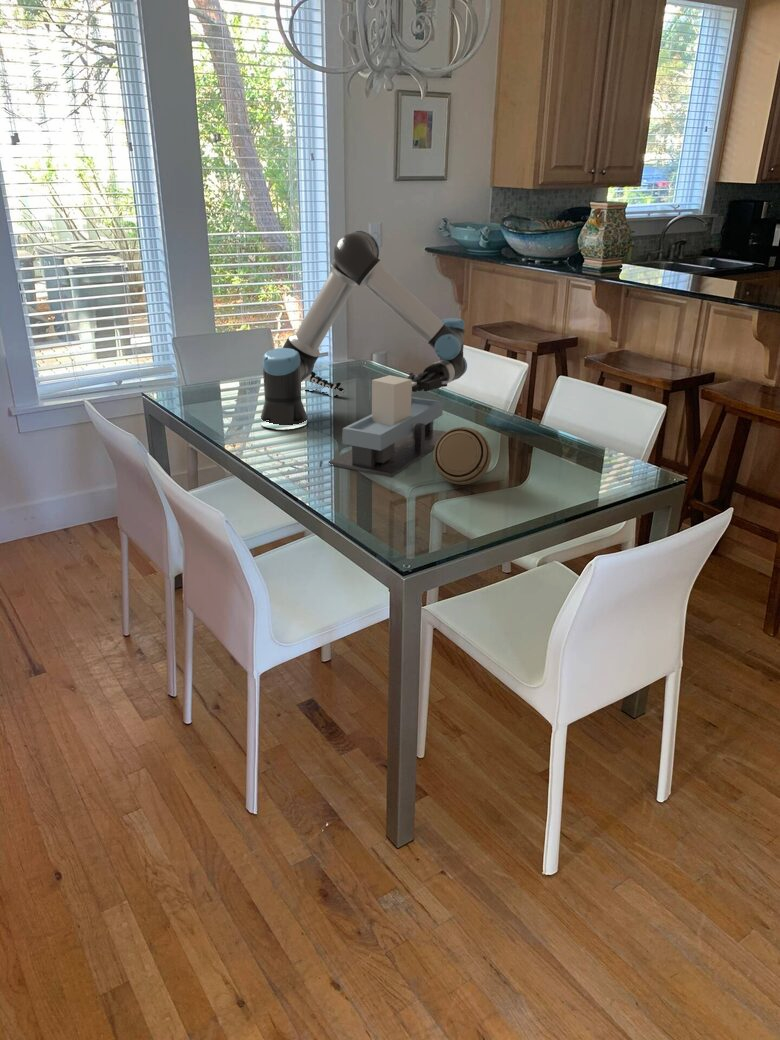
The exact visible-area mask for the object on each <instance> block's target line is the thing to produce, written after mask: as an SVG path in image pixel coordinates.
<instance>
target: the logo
mask: <svg viewBox="0 0 780 1040" xmlns="http://www.w3.org/2000/svg"><path fill="white" fill-rule="evenodd" d="M316 375H317V374H316V372H315V371H314V370H312V372H311V374H310V375H309V376H307V378H305V379H304V380H306V381H309V382H312V383H315V384H318V385H321V386H324V387H328V388H331V389H335V390H337V391H342V390H344V391H345V389H344V388H342V387H340V386H341V381H340V382H335V383H332V382H329V381H328V380H327V379H323V377H320V376H319V375H318V376H316ZM324 387H323V388H324ZM336 388H337V389H336Z"/></svg>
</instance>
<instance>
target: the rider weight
mask: <svg viewBox="0 0 780 1040" xmlns="http://www.w3.org/2000/svg"><path fill="white" fill-rule="evenodd" d="M411 391H412V380H411V379H407V377H401V376H395V375H391V374H389V375H386V376H382V377H379V378H374V379H372V380H371V414H372V421H373V422H377V423H381V424H385V425H389V426H393V425H395V424H397V423H399V422H400V421H402V420H404V419H406V418H408V417H410V416H411V397H412V394H411Z"/></svg>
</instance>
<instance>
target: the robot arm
mask: <svg viewBox="0 0 780 1040" xmlns="http://www.w3.org/2000/svg"><path fill="white" fill-rule="evenodd" d="M379 256H380V245H379V243H378V241H377V240H376V238H375V237H374V236H373V235H372V234H371V233H369V232H366V231H363V230H355V231H352V232H350V233H347V234H344V235H343V236H341V237H340V238H339V239H338V241H336V243H335V246H334V248H333V257H332V259H331V261H330V263H329V265H330V268H331V270H330V271H331V272H330V273H329V275H328V276H327V278H326V280H325V281H324V283H323V285H322V287H321V289H320V290H319V291H318V294H317V296H316V298H315V299H314V300H313V303H312V304H311V306H310V308H309V310H308V311H307V313H306V315H305V317H304V319H303V320H302V322H301V324H300V326H299V327H298V329H297V331H296V333H295V334H290V335H289V336H288V337H287V339H286V340H285V342H284V344H283V346H282V347H279V348H278V347H277V348H274V349H269V350H268V351H266V352H264V354H263V357H262V363H261V364H262V365H261V366H262V374H263V391H264V392H263V393H264V403H263V407H262V409H261V410H262V411H261V414H260V417H261V419H262V420H263V421H266V420H269V421H266V422H269V423H273V424H279V425H293V424H299V423H302V422H304V421H306V420H307V421H308V415H307V413H306V410H305V407H304V403H303V400H302V389H301V382H302V381H303V380H304V379H305V378H307V376H309V375H310V374H311V372H312V371H314V367H315V364H316V362H317V360H318V358H319V357H320V355H321V353H320V349H319V348H320V346H321V345H322V343H323V341H324V339H325V338H326V337H327V334H328V332H329V331H330V329H331V327H332V326H333V324H334V322H335V321H336V319H337V317H338V315H339V314H340V312H341V310H342V309H343V307H344V305H345V303H346V302H347V300H348V299H349V297H350V295H351V293H352V292H353V289H354V288H355V286H357V285H358V286H359V287H365V288H366V289H367V290H369V291H370V293H372V294H373V295H374V296H375V297H376V298H378V300H380V302H382V303H383V304H384V305H385V306H386V307H388V308H389V309H390V310H391V312H393V313H394V314H395V315H396V316H397V317H399V319H401V320H402V321H403V322H404V323H405V324H406V325H407V326H408V327H410V328H411V329H412V331H414V332H415V333H416V334H418V336H420V337H421V338H422V339H423V340H424V341H425V342H426V343H427V344H428V345H429V346H430V347H431V348H432V349H434V352H435V354H436V356H437V357H439V360H438V361H437V362H434V363H432V364H430V365H428V366H426V367H425V368H424V370H423V372H420V373H418V374H416V373H414V372H410V373H409V375H408V376H407V377H406V379H411V380H412V391H411V395H412V394H414V393H416V392H422V391H423V392H429V391H432V390H437V389H440V388H445V387H448V384H450V383H451V382H453V381H455V380H459V379H460V378H461V377H462V376H464V374H465V373H466V372H467V370H468V362H467V360H466V359H465V357H464V344H465V332H466V329H465V321H464V320H463V319H461V318H456V317H450V318H449V317H447V318H443V319H440V318H439V317H438V316H437V315H435V314H434V313H433V312H432V311H431V310H430V309H429V308H428V307H427V306H426V305H424V303H422V302H421V301H420V300H419V299H418V298H417V297H416V296H415V295H414V294H412V293H411V292H410V291H409V290H408V289H407V288H406V287H405V286H404V285H402V283H401V282H399V280H397V279H396V278H395V277H394V276H393V275H392V274H391V273H389V271H388V270H386V269H385V268H384V267H383V266H382V260H380V258H379Z"/></svg>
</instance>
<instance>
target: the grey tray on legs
mask: <svg viewBox="0 0 780 1040" xmlns="http://www.w3.org/2000/svg"><path fill="white" fill-rule="evenodd" d="M443 403H444V402H443V400H435V399H429V398H423V397H415V396H411V416H410V417H408V418H406V419H404V420H402V421H400V422H399V423H397V424H395V425H393V426H389V425H385V424H381V423H377V422H373V421H372V413H371V414H369V415H366V416H364V417H363V418H361V419H359V420H357V421H354V422H352V423H351V424H349V425H346V426H345V427H343V428H342V433H341V436H342V439H341V440H342V444H343V445H347V446H351V447H352V446H358V447H363V448H368V449H374V450H375V462H380V463H384V462H385V461H387V460H389V459H390V458H392V457H394V452H395V442H397V441H398V440H400V439H402V438H404V437H405V436H407V435H409V434H411V433H412V432H414V431H415V425H416V424H418V423H423V424H425V425H426V424H428V423H430V422H432V421H433V422H434V421H435V420H437V419H439V418H440V417H442V416H443V414H444V413H443V410H444V409H443V408H444V406H443V405H444V404H443Z"/></svg>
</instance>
